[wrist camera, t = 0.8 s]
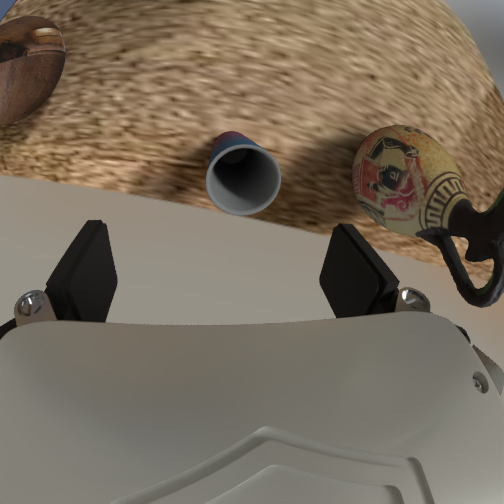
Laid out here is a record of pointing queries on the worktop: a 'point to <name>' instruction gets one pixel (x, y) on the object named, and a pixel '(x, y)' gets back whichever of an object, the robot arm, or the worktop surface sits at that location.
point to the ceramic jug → (429, 203)
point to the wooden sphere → (28, 65)
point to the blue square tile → (5, 7)
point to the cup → (241, 175)
